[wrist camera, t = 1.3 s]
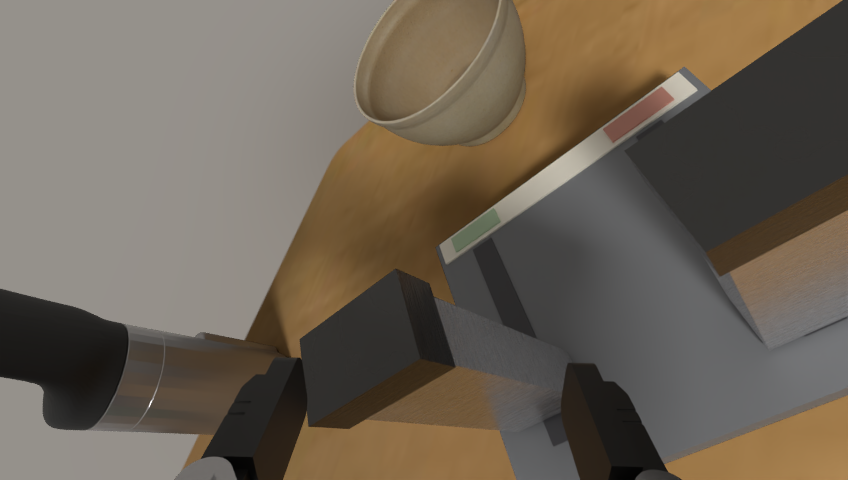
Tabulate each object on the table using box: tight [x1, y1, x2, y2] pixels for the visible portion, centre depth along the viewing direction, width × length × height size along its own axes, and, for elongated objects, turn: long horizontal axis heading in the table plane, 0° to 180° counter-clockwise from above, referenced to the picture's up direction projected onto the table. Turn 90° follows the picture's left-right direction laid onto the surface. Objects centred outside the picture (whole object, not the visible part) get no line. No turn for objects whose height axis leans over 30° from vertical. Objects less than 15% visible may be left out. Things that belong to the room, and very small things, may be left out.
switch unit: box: [436, 67, 848, 480], centre depth 30 cm, size 20×22×4 cm
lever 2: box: [625, 0, 848, 350], centre depth 16 cm, size 4×6×16 cm, turn 109°
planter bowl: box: [354, 0, 526, 146], centre depth 43 cm, size 16×16×11 cm
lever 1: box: [300, 269, 572, 432], centre depth 22 cm, size 4×6×16 cm, turn 109°
